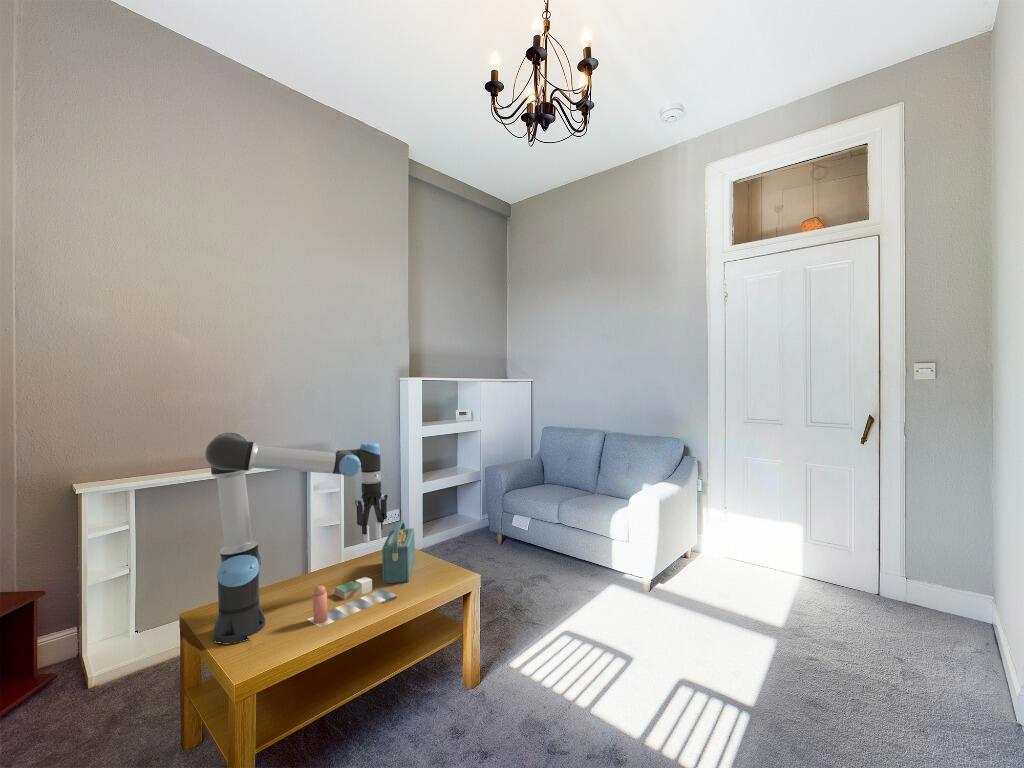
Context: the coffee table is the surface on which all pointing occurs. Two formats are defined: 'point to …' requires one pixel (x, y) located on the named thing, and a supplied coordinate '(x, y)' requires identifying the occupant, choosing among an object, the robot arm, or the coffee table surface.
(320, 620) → the pink rounded cylinder
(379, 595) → the board
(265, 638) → the coffee table surface
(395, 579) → the radio
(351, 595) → the stand
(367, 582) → the white cube
